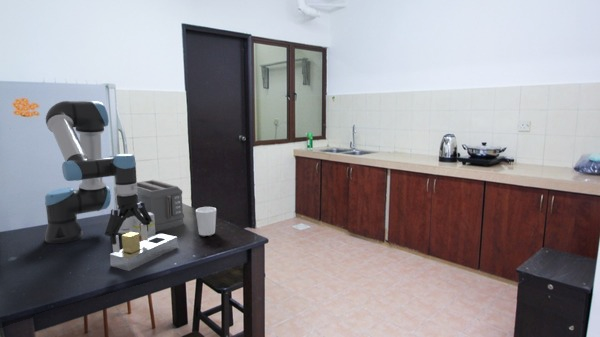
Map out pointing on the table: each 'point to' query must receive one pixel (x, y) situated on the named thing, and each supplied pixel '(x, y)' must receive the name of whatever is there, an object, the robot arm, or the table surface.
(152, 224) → the ink box
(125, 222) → the bottle
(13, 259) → the table surface
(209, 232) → the cup
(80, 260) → the table surface
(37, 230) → the table surface
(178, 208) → the toaster
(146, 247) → the white peg board
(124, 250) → the gold square peg
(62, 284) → the table surface
